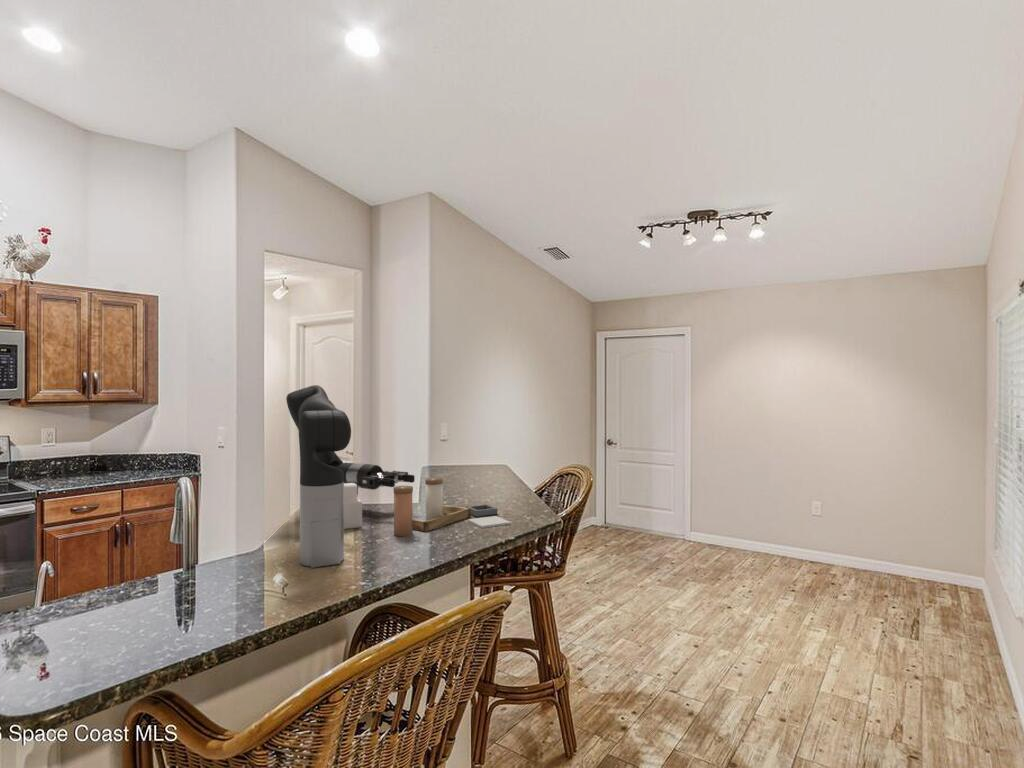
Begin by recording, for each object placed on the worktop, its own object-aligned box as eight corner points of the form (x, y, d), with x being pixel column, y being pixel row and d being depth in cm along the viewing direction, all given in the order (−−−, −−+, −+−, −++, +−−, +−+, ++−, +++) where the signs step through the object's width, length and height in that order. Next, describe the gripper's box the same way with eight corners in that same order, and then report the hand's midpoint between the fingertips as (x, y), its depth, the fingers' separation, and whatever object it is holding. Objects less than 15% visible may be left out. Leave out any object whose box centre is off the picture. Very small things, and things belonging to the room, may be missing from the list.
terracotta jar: (415, 534, 150) (415, 487, 150) (396, 537, 148) (396, 489, 148) (409, 530, 154) (409, 485, 154) (391, 532, 152) (391, 486, 152)
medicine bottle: (331, 524, 161) (331, 481, 162) (357, 522, 164) (357, 479, 165) (335, 530, 155) (335, 485, 155) (362, 527, 158) (362, 483, 158)
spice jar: (445, 522, 164) (445, 479, 164) (428, 524, 161) (428, 480, 161) (439, 518, 168) (439, 476, 168) (422, 520, 166) (422, 478, 166)
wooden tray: (470, 517, 170) (470, 508, 170) (426, 531, 153) (426, 522, 153) (444, 513, 175) (444, 505, 175) (399, 527, 158) (399, 518, 158)
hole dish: (497, 515, 173) (497, 508, 173) (476, 517, 169) (476, 510, 169) (487, 510, 179) (487, 504, 179) (466, 513, 175) (466, 506, 175)
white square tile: (510, 524, 161) (510, 522, 161) (481, 528, 157) (481, 525, 157) (495, 517, 169) (495, 515, 169) (467, 521, 165) (467, 519, 165)
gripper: (347, 467, 173) (387, 471, 165) (381, 461, 185) (420, 465, 177) (347, 491, 173) (387, 498, 165) (381, 484, 185) (419, 489, 177)
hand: (404, 481), depth 171 cm, fingers open, 8 cm apart
